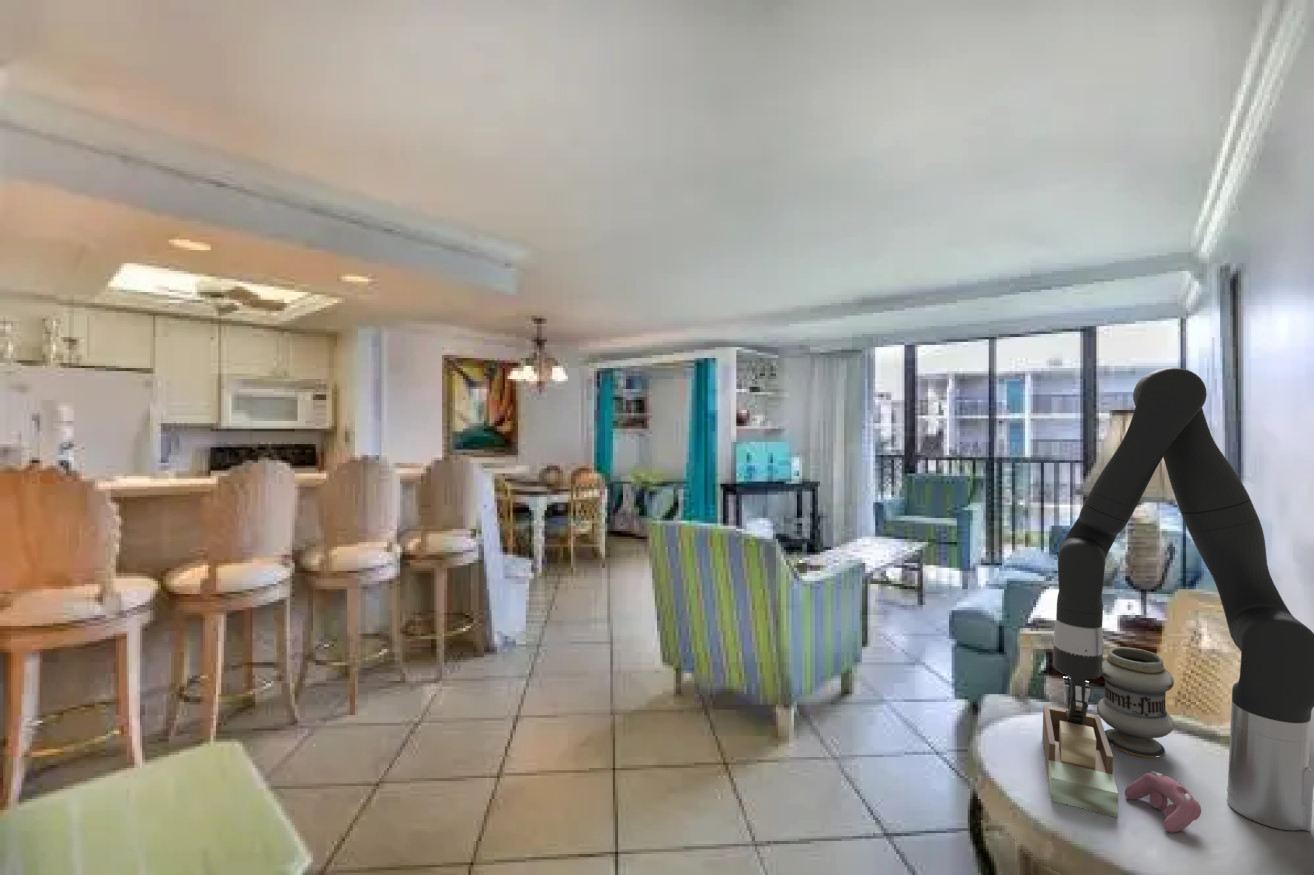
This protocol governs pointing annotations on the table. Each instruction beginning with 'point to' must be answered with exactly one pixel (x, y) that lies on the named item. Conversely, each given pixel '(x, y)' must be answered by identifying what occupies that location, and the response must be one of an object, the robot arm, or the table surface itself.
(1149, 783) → the video game controller
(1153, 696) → the apothecary jar
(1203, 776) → the table surface
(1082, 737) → the maple block
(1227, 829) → the table surface
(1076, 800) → the channel
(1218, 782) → the table surface
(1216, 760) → the table surface
